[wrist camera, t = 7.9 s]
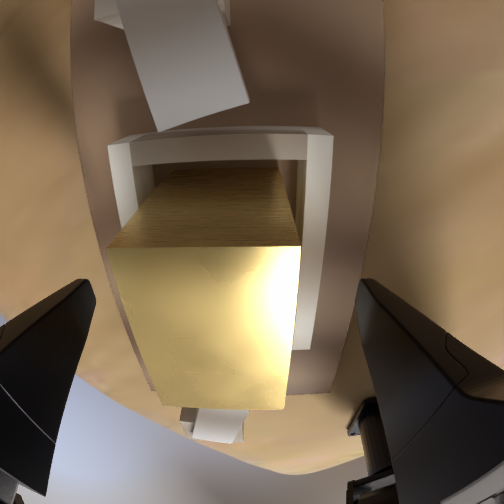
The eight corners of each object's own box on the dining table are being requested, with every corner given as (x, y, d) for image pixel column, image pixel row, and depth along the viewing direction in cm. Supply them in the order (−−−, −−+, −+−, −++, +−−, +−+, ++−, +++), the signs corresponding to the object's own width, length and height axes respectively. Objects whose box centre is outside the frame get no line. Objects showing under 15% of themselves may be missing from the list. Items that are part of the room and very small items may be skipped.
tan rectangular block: (172, 170, 11) (106, 248, 6) (278, 166, 11) (301, 246, 6) (189, 295, 14) (162, 405, 9) (274, 296, 14) (283, 409, 9)
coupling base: (326, 375, 20) (339, 445, 15) (155, 374, 20) (139, 441, 15) (367, -19, 8) (430, -64, 3) (88, -2, 8) (10, -27, 3)
